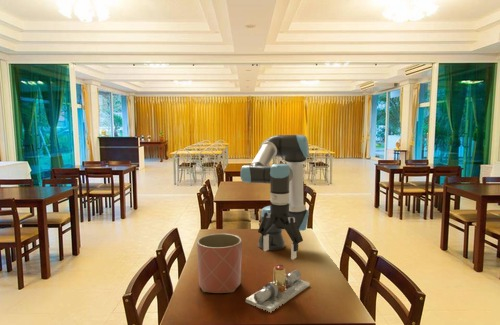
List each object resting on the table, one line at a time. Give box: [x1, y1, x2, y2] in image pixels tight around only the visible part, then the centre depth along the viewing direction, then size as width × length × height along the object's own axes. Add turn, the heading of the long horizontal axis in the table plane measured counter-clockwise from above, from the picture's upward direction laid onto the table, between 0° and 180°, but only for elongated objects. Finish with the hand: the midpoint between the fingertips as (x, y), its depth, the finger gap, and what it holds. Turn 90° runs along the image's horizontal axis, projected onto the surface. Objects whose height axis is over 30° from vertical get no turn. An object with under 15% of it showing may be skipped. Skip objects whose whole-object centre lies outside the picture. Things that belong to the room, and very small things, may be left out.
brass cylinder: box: [272, 264, 286, 293], centre depth 137 cm, size 5×5×10 cm
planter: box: [196, 233, 243, 294], centre depth 144 cm, size 19×19×20 cm
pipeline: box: [245, 269, 310, 314], centre depth 137 cm, size 28×12×6 cm, turn 140°
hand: (279, 254), depth 137 cm, fingers open, 13 cm apart
